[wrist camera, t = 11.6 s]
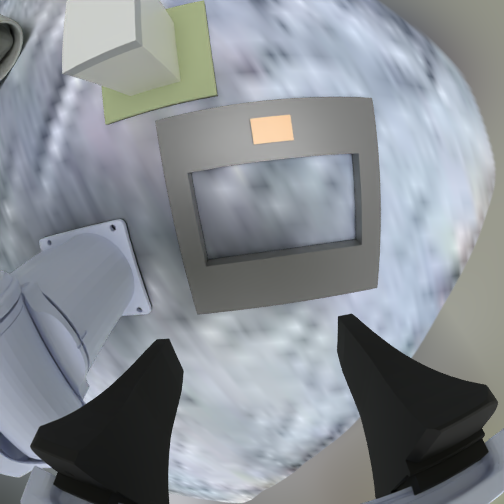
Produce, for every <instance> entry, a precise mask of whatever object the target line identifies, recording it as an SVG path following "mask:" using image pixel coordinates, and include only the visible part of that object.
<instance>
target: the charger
mask: <svg viewBox="0 0 504 504" xmlns="http://www.w3.org/2000/svg"><path fill="white" fill-rule="evenodd" d="M62 73H63V74H66V75H70V76H73V77H76V78H80V79H83V80H86V81H89V82H92V83H95V84H98V85H101V86H104V87H107V88H110V89H113V90H115V91H118V92H121V93H124V94H126V95H129V96H132V95H135V94H138V93H141V92H145V91H148V90H151V89H155V88H158V87H162V86H165V85H169V84H173V83H177V82H181V80H180V72H179V65H178V57H177V48H176V39H175V30H174V22H173V21H172V19H171V17H170V16H169V14H168V13H167V11H166V10H165V8H164V6H163V5H162V3H161V2H160V0H67V4H66V12H65V21H64V33H63V53H62Z"/></svg>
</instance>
